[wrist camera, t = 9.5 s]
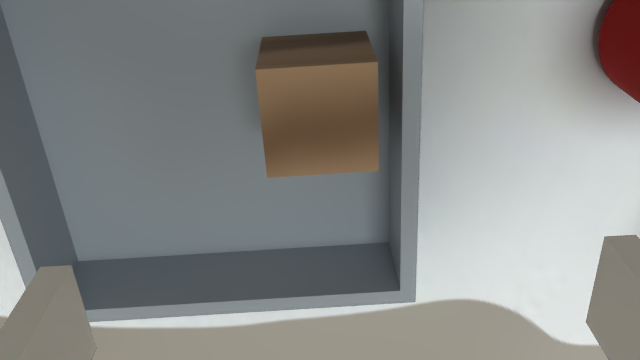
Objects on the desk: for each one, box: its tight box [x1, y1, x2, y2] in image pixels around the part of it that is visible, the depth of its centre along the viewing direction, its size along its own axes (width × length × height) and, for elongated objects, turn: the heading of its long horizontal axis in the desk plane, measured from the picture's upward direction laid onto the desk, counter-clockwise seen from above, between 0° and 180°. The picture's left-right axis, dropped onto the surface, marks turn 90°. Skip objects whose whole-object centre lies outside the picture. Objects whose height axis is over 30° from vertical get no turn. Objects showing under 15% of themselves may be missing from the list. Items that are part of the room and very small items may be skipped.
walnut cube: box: [255, 31, 379, 178], centre depth 28 cm, size 5×5×5 cm
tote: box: [0, 0, 424, 322], centre depth 28 cm, size 22×20×5 cm
